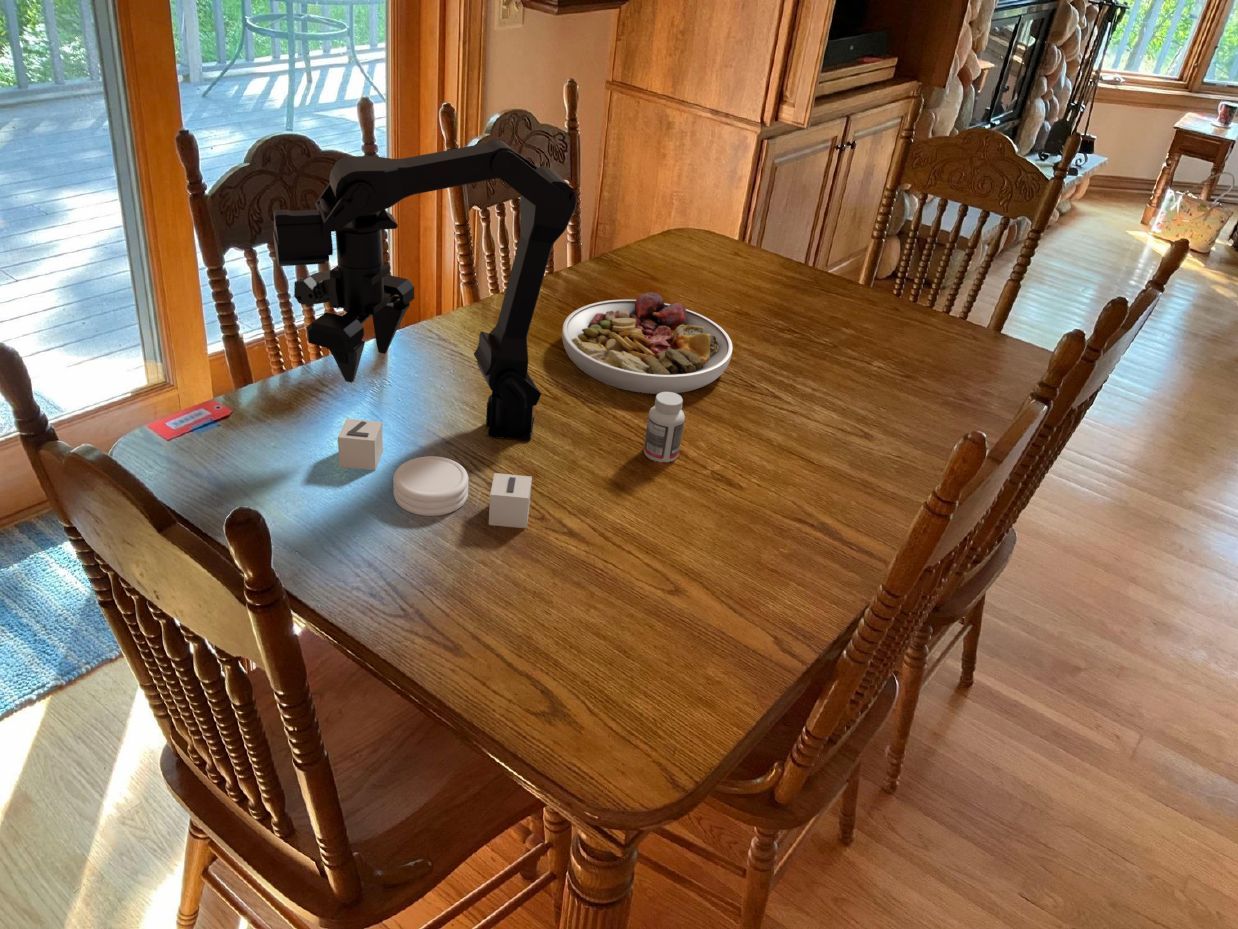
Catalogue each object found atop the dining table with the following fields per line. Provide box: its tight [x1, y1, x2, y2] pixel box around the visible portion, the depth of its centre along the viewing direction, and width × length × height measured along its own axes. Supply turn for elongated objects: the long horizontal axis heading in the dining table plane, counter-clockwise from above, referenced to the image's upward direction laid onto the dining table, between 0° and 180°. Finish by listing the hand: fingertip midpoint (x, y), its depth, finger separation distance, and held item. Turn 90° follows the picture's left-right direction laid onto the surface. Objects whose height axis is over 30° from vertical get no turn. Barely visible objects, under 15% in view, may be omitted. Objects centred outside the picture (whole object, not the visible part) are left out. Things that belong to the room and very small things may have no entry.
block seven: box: [337, 418, 384, 471], centre depth 137 cm, size 5×5×5 cm
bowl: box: [561, 291, 733, 395], centre depth 172 cm, size 30×30×8 cm
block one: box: [488, 472, 533, 529], centre depth 130 cm, size 5×5×5 cm
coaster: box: [392, 455, 469, 517], centre depth 132 cm, size 10×10×4 cm
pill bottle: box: [643, 392, 686, 463], centre depth 145 cm, size 5×5×10 cm
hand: (366, 366), depth 135 cm, fingers open, 9 cm apart
